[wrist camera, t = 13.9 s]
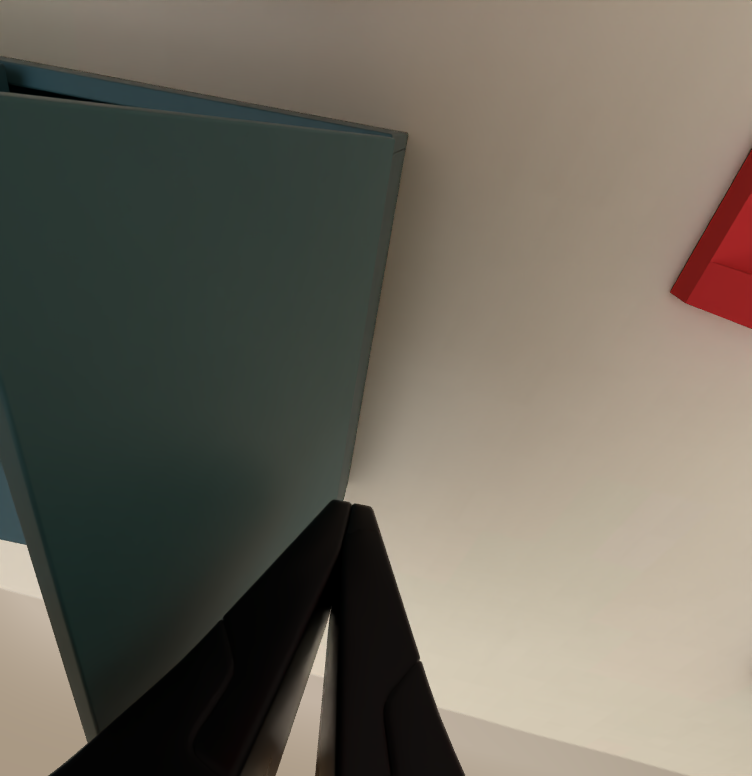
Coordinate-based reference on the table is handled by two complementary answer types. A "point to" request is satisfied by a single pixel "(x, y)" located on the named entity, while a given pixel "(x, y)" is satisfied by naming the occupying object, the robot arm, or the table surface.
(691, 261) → the bracket
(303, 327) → the panel
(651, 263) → the table surface
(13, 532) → the box
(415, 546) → the table surface
